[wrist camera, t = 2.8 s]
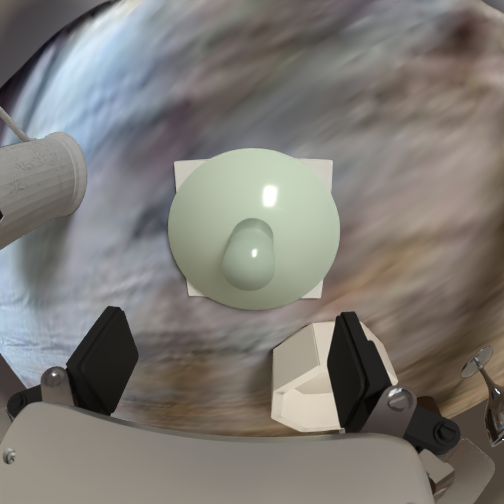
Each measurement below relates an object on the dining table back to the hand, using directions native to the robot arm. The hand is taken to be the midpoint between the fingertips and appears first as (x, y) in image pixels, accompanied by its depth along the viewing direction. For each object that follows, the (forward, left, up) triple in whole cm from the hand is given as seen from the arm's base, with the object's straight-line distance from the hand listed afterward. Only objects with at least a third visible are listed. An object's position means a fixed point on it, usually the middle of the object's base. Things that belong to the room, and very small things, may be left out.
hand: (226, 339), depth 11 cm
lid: (0, +1, -12) cm, 12 cm away
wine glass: (+21, +37, -13) cm, 44 cm away
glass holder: (-9, -19, -13) cm, 25 cm away
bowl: (+15, +9, -12) cm, 21 cm away
